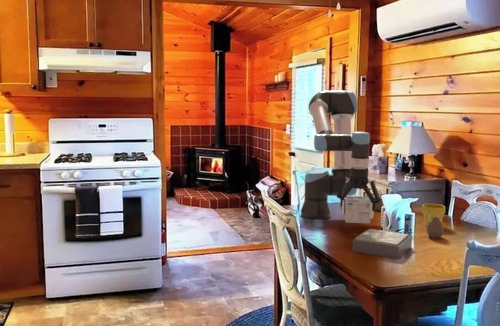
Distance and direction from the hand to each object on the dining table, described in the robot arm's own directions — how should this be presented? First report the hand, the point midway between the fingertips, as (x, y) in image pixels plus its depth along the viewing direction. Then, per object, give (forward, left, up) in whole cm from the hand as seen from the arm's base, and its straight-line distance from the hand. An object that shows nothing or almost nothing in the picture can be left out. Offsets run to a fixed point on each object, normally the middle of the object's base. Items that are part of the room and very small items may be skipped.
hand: (357, 216), depth 217 cm
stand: (+16, -16, -8) cm, 25 cm away
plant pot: (+25, +34, -8) cm, 43 cm away
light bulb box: (0, 0, -3) cm, 3 cm away
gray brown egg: (+30, +14, -8) cm, 34 cm away
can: (-10, +59, -8) cm, 60 cm away
